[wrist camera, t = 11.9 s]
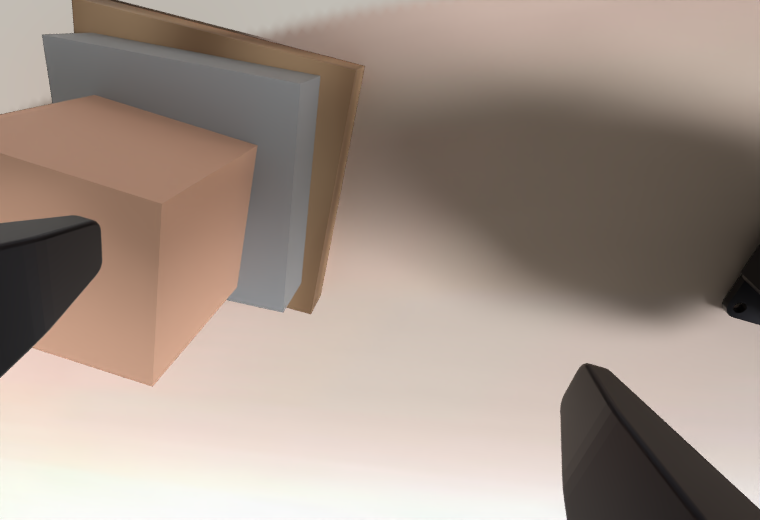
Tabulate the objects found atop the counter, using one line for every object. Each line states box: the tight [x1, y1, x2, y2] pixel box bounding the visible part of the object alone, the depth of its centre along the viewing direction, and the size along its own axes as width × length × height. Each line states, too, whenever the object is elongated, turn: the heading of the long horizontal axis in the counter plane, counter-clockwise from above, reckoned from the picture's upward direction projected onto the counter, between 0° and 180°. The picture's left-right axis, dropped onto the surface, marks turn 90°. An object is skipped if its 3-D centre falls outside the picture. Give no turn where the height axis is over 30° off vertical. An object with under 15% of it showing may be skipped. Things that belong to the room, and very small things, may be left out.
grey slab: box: [42, 33, 320, 312], centre depth 19 cm, size 9×9×2 cm
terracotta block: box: [0, 95, 258, 387], centre depth 16 cm, size 6×6×6 cm
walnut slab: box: [72, 0, 365, 314], centre depth 22 cm, size 11×11×2 cm
